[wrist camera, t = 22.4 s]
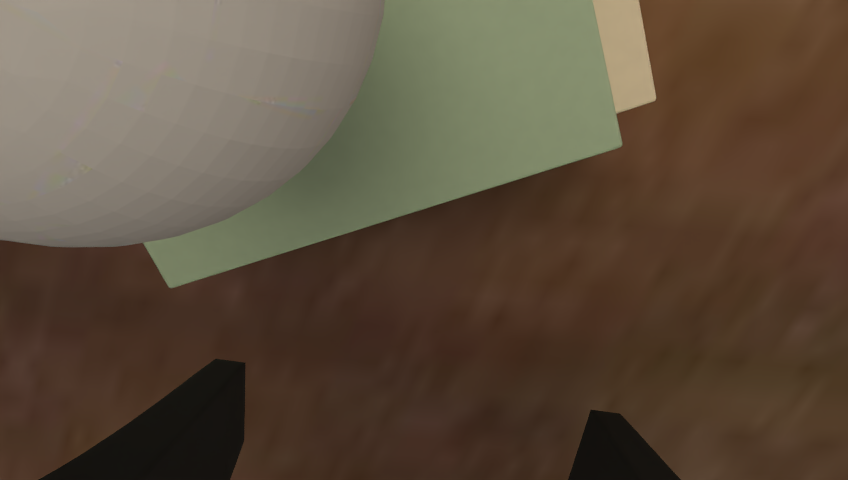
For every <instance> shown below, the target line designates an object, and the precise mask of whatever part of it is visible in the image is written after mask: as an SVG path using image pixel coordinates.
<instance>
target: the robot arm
mask: <svg viewBox="0 0 848 480" xmlns="http://www.w3.org/2000/svg"><path fill="white" fill-rule="evenodd" d="M244 416H245V363H243V362H235V361H228V360H221V359H215V360H213V361H212V362H211V363H209V364H208V365H206V366H205V367H204V368H202V369H201V370H200V371H198V372H197V373H196V374H194V375H193V376H192V377H190V378H189V379H188V380H187V381H185V382H184V383H183V384H181V385H180V386H179V387H177V388H176V389H175V390H173V391H172V392H171V393H169V394H168V395H167V396H165V397H164V398H163V399H161V400H160V401H159V402H157V403H156V404H155V405H153V406H152V407H150V408H149V409H148V410H146V411H145V412H143V413H142V414H141V415H139V416H138V417H137V418H135V419H134V420H132V421H131V422H130V423H128V424H127V425H125V426H124V427H122V428H121V429H119V430H118V431H116V432H115V433H113V434H112V435H110V436H109V437H107V438H106V439H104V440H103V441H101V442H100V443H98V444H97V445H95V446H94V447H92V448H91V449H89V450H88V451H86V452H85V453H83V454H81V455H80V456H78V457H77V458H75V459H73V460H72V461H70V462H68V463H67V464H65V465H63V466H62V467H60V468H58V469H57V470H55V471H53V472H51V473H49V474H48V475H46V476H44V477H42V478H41V479H39V480H230V478H231V475H232V473H233V470H234V467H235V465H236V462H237V459H238V456H239V453H240V450H241V448H242V445H243V442H244ZM568 480H680V479H679V477H678V476H677V475H676V474H675V473H674V472H673V471H672V470H671V469H670V468H669V467H668V466H667V464H666V463H665V462H664V461H663V460H662V459H661V458H660V457H659V456H658V455H657V453H656V452H655V451H654V450H653V449H652V448H651V447H650V446H649V445H648V443H647V442H646V441H645V440H644V439H643V438H642V437H641V436H640V435H639V434H638V432H637V431H636V430H635V429H634V428H633V427H632V426H631V425H630V424H629V423H628V422H627V421H626V420H625V419H624V418H623V416H622V415H621V414H618V413H610V412H603V411H596V410H591V411H590V414H589V417H588V421H587V424H586V427H585V430H584V433H583V436H582V439H581V442H580V445H579V448H578V451H577V454H576V457H575V460H574V464H573V467H572V470H571V473H570V476H569V479H568Z"/></svg>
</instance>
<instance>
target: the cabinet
mask: <svg viewBox="0 0 848 480" xmlns="http://www.w3.org/2000/svg"><path fill="white" fill-rule="evenodd" d="M621 146H622V139H621V134H620V130H619V125H618V120H617V115H616V110H615V106H614V101H613V96H612V91H611V86H610V82H609V77H608V72H607V67H606V62H605V58H604V53H603V48H602V43H601V38H600V34H599V29H598V24H597V19H596V14H595V10H594V5H593V0H385V3H384V14H383V19H382V23H381V27H380V31H379V35H378V39H377V43H376V47H375V51H374V55H373V59H372V61H371V64H370V66H369V69H368V71H367V73H366V76H365V78H364V81H363V83H362V85H361V88H360V90H359V92H358V95H357V97H356V99H355V101H354V102H353V104H352V106H351V107H350V109H349V110H348V112H347V114H346V115H345V117H344V118H343V120H342V122H341V123H340V125H339V126H338V128H337V130H336V131H335V133H334V134H333V136H332V137H331V138H330V139H329V141H328V142H327V143H326V144H325V145H324V146H323V147H322V148H321V150H320V151H319V152H318V153H317V154H316V155H315V156H314V157H313V159H312V160H311V161H310V162H309V163H308V164H307V165H306V166H305V167H304V168H303V169H302V170H301V171H300V172H299V173H297V174H296V175H295V176H294V177H292V178H291V179H290V180H288V181H287V182H286V183H285V184H283V185H282V186H281V187H280V188H278V189H277V190H276V191H275V192H273V193H272V194H271V195H270V196H268V197H266V198H265V199H263V200H261V201H259V202H258V203H256V204H254V205H252V206H250V207H248V208H246V209H245V210H243V211H241V212H239V213H237V214H235V215H234V216H232V217H230V218H228V219H226V220H223V221H221V222H218V223H216V224H213V225H210V226H207V227H204V228H201V229H198V230H195V231H192V232H189V233H186V234H183V235H180V236H176V237H172V238H167V239H162V240H156V241H150V242H144V243H143V244H144V245H145V247H146V249H147V251H148V252H149V254H150V256H151V258H152V259H153V261H154V263H155V264H156V266H157V268H158V270H159V271H160V273H161V275H162V276H163V278H164V280H165V282H166V283H167V285H168V287H169V288H174V287H177V286H180V285H183V284H187V283H190V282H193V281H196V280H199V279H203V278H206V277H209V276H212V275H215V274H218V273H222V272H225V271H228V270H231V269H234V268H238V267H241V266H244V265H247V264H250V263H254V262H257V261H260V260H263V259H266V258H269V257H273V256H276V255H279V254H282V253H285V252H289V251H292V250H295V249H298V248H301V247H305V246H308V245H311V244H314V243H317V242H320V241H324V240H327V239H330V238H333V237H336V236H340V235H343V234H346V233H349V232H352V231H356V230H359V229H362V228H365V227H368V226H371V225H375V224H378V223H381V222H384V221H387V220H391V219H394V218H397V217H400V216H403V215H407V214H410V213H413V212H416V211H419V210H423V209H426V208H429V207H432V206H435V205H438V204H442V203H445V202H448V201H451V200H454V199H458V198H461V197H464V196H467V195H470V194H474V193H477V192H480V191H483V190H486V189H489V188H493V187H496V186H499V185H502V184H505V183H509V182H512V181H515V180H518V179H521V178H525V177H528V176H531V175H534V174H537V173H540V172H544V171H547V170H550V169H553V168H556V167H560V166H563V165H566V164H569V163H572V162H576V161H579V160H582V159H585V158H588V157H591V156H595V155H598V154H601V153H604V152H607V151H611V150H614V149H617V148H620V147H621Z"/></svg>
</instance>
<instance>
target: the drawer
mask: <svg viewBox="0 0 848 480" xmlns="http://www.w3.org/2000/svg"><path fill="white" fill-rule="evenodd" d="M593 5H594V10H595V14H596V19H597V24H598V29H599V34H600V38H601V43H602V48H603V53H604V58H605V62H606V67H607V72H608V77H609V82H610V86H611V91H612V96H613V101H614V106H615V110H616V114H617V113H620V112H623V111H626V110H629V109H632V108H635V107H639V106H642V105H645V104H648V103H651V102H654V101H655V100H656V94H655V88H654V83H653V77H652V71H651V66H650V60H649V55H648V49H647V43H646V38H645V32H644V27H643V21H642V16H641V10H640V4H639V0H593Z"/></svg>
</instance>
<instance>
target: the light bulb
mask: <svg viewBox="0 0 848 480" xmlns="http://www.w3.org/2000/svg"><path fill="white" fill-rule="evenodd" d="M384 3H385V0H0V240H7V241H14V242H21V243H29V244H36V245H44V246H51V247H114V246H125V245H131V244H138V243H144V242H150V241H156V240H162V239H167V238H172V237H176V236H180V235H183V234H186V233H189V232H192V231H195V230H198V229H201V228H204V227H207V226H210V225H213V224H216V223H218V222H221V221H223V220H226V219H228V218H230V217H232V216H234V215H235V214H237V213H239V212H241V211H243V210H245V209H246V208H248V207H250V206H252V205H254V204H256V203H258V202H259V201H261V200H263V199H265V198H266V197H268V196H270V195H271V194H272V193H273V192H275V191H276V190H277V189H278V188H280V187H281V186H282V185H283V184H285V183H286V182H287V181H288V180H290V179H291V178H292V177H294V176H295V175H296V174H297V173H299V172H300V171H301V170H302V169H303V168H304V167H305V166H306V165H307V164H308V163H309V162H310V161H311V160H312V159H313V157H314V156H315V155H316V154H317V153H318V152H319V151H320V150H321V148H322V147H323V146H324V145H325V144H326V143H327V142H328V141H329V139H330V138H331V137H332V136H333V134H334V133H335V131H336V130H337V128H338V126H339V125H340V123H341V122H342V120H343V118H344V117H345V115H346V114H347V112H348V110H349V109H350V107H351V106H352V104H353V102H354V101H355V99H356V97H357V95H358V92H359V90H360V88H361V85H362V83H363V81H364V78H365V76H366V73H367V71H368V69H369V66H370V64H371V61H372V59H373V55H374V51H375V47H376V43H377V39H378V35H379V31H380V27H381V23H382V19H383V14H384Z"/></svg>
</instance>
